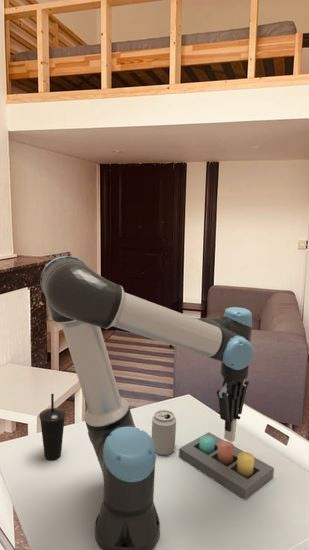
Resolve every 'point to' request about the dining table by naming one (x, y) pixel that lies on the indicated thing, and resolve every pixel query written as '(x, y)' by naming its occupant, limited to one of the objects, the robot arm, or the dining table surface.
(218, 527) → the dining table surface
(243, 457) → the yellow plastic cylinder
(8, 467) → the dining table surface
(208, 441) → the teal cylinder
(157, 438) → the can
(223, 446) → the coral button
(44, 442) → the drinking cup
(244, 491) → the tray
